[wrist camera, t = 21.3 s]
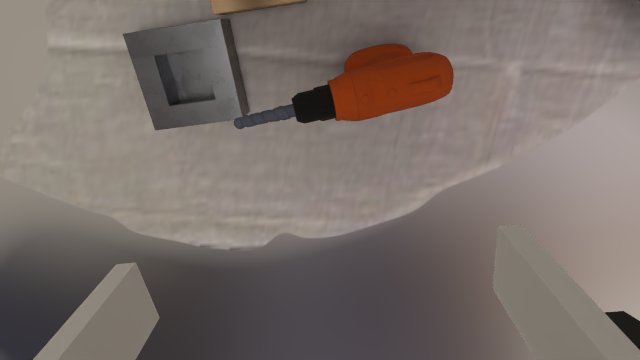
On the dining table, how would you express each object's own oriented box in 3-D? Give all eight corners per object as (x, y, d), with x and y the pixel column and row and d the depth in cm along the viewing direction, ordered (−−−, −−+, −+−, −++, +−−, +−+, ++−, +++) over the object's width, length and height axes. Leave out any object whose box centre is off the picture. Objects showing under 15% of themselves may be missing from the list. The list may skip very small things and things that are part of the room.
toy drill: (241, 76, 39) (218, 101, 25) (408, 37, 39) (477, 40, 25) (253, 119, 41) (239, 164, 27) (412, 82, 41) (479, 107, 27)
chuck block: (229, 19, 38) (219, 19, 34) (249, 111, 42) (242, 118, 38) (139, 32, 38) (122, 34, 35) (168, 122, 42) (155, 130, 39)
